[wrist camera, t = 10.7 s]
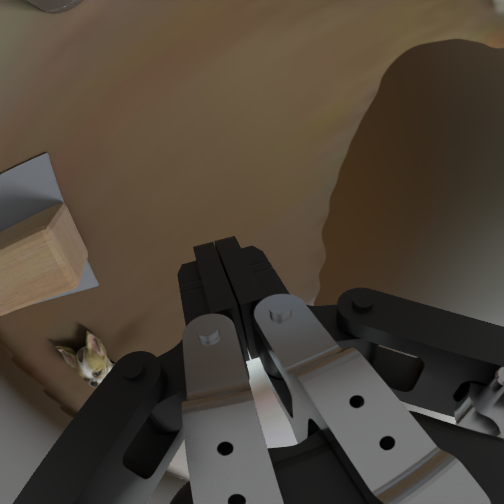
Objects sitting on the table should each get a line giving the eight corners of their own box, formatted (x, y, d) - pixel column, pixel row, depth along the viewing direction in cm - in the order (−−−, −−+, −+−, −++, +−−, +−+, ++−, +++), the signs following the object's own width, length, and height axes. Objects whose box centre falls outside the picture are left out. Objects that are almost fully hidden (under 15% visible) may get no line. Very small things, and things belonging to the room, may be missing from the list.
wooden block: (91, 253, 44) (6, 286, 42) (66, 198, 39) (-20, 241, 36) (80, 290, 36) (-12, 322, 33) (46, 226, 31) (-45, 273, 28)
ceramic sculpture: (97, 410, 52) (47, 368, 44) (100, 380, 59) (56, 338, 51) (135, 396, 52) (85, 350, 44) (135, 365, 60) (91, 319, 52)
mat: (-46, 200, 31) (-48, 201, 31) (47, 152, 35) (46, 152, 35) (8, 310, 44) (8, 311, 44) (98, 284, 48) (98, 285, 48)
